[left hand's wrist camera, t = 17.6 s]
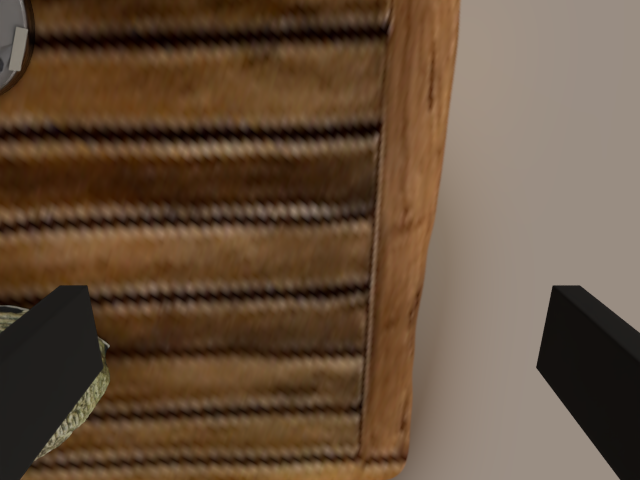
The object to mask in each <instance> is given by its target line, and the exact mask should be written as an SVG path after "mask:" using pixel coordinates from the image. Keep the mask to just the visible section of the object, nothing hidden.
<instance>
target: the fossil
mask: <svg viewBox="0 0 640 480" xmlns="http://www.w3.org/2000/svg"><path fill="white" fill-rule="evenodd" d="M27 311H29V310H28V309H25V308H20V307H16V306H9V305H6V306H1V305H0V333H1V332H2V331H3V330H5V329H6V328H7V327H8V326H10V325H11V324H12V323H14V322H15V321H16V320H17V319H19V318H20V317H21V316H22V315H24V314H25V313H26V312H27ZM98 341H99V346H100V351H101V356H102V361H103V366H104V368H103V369H102V371H101V372H100V373H99V375H98V376H97V377H96V379H95V380H94V381H93V383H92V384H91V385H90V387H89V388H88V389H87V391H86V392H85V393H84V395H83V396H82V397H81V399H80V400H79V401H78V403H77V404H76V405H75V407H74V408H73V409H72V411H71V412H70V413H69V415H68V416H67V417H66V419H65V420H64V421H63V423H62V424H61V425H60V427H59V428H58V429H57V431H56V432H55V433H54V435H53V436H52V437H51V439H50V440H49V441H48V443H47V444H46V445H45V447H44V448H43V449H42V451H41V452H40V453H39V455H38V456H37V457H36V459H35V460H37V459H38V458H39V457H42V456H44V455H45V454H47V453H48V452H50V451H51V450H53V449H54V448H56V447H58V446H59V445H60V444H62V443H63V442H64V441H65V440H66V439H67V438H68V437H70V435H71V434H72V432H73V430H75V429H76V428H78V427H79V426H80V425H81V424H82V423H83V422H85V420H86V418H87V417H88V416H89V414H90V413H91V412H92V411H93V409H94V408H95V406H96V405H97V403H98V401H99V400H100V399H101V397H102V396H103V394H104V392H105V391H106V389H107V386H108V384H109V382H110V373H109V370H108V367H107V364H106V359H105V355H106V351H107V349H108V348H109V346H110V345H109V344H108V343H106V342H105V341H104V340H102V339H101V338H99V337H98ZM35 460H34V461H35Z"/></svg>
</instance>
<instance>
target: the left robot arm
mask: <svg viewBox="0 0 640 480" xmlns="http://www.w3.org/2000/svg"><path fill="white" fill-rule="evenodd" d="M34 41H35V22H34V14H33V9H32V5H31V1H30V0H0V95H1V94H3V93H5V92H6V91H8V90H9V89H10V88H12V87H13V86H14V85H15V84H16V83H17V82H18V81H19V79H20V78H21V77H22V75H23V74H24V72H25V70H26V69H27V67H28V65H29V62H30V59H31V56H32V52H33V48H34ZM103 368H104V366H103V361H102V356H101V351H100V346H99V341H98V336H97V331H96V326H95V322H94V317H93V312H92V307H91V302H90V297H89V292H88V287H87V286H59V287H58V288H56V289H55V290H54V291H53V292H51V293H50V294H49V295H48V296H46V297H45V298H44V299H42V300H41V301H40V302H39V303H37V304H36V305H35V306H34V307H32V308H31V309H30V310H29V311H27V312H26V313H25V314H24V315H22V316H21V317H20V318H19V319H17V320H16V321H15V322H14V323H12V324H11V325H10V326H8V327H7V328H6V329H5V330H3V331H2V332H1V333H0V480H20V479H21V477H22V476H23V475H24V473H25V472H26V471H27V469H28V468H29V467H30V465H31V464H32V463H33V461H34V460H35V459H36V457H37V456H38V455H39V453H40V452H41V451H42V449H43V448H44V447H45V445H46V444H47V443H48V441H49V440H50V439H51V437H52V436H53V435H54V433H55V432H56V431H57V429H58V428H59V427H60V425H61V424H62V423H63V421H64V420H65V419H66V417H67V416H68V415H69V413H70V412H71V411H72V409H73V408H74V407H75V405H76V404H77V403H78V401H79V400H80V399H81V397H82V396H83V395H84V393H85V392H86V391H87V389H88V388H89V387H90V385H91V384H92V383H93V381H94V380H95V379H96V377H97V376H98V375H99V373H100V372H101V371H102V369H103ZM536 368H537V369H538V371H539V372H540V373H541V375H542V376H543V377H544V379H545V380H546V381H547V383H548V384H549V385H550V387H551V388H552V389H553V391H554V392H555V393H556V395H557V396H558V397H559V399H560V400H561V401H562V403H563V404H564V405H565V407H566V408H567V409H568V411H569V412H570V413H571V415H572V416H573V417H574V419H575V420H576V421H577V423H578V424H579V425H580V427H581V428H582V429H583V431H584V432H585V433H586V435H587V436H588V437H589V439H590V440H591V441H592V443H593V444H594V445H595V447H596V448H597V449H598V451H599V452H600V453H601V455H602V456H603V457H604V459H605V460H606V461H607V463H608V464H609V465H610V467H611V468H612V469H613V471H614V472H615V473H616V475H617V476H618V477H619V479H620V480H640V333H639V332H638V331H637V330H635V329H634V328H633V327H632V326H630V325H629V324H628V323H626V322H625V321H624V320H623V319H621V318H620V317H619V316H618V315H616V314H615V313H614V312H613V311H611V310H610V309H609V308H608V307H606V306H605V305H604V304H602V303H601V302H600V301H599V300H598V299H596V298H595V297H594V296H592V295H591V294H590V293H589V292H587V291H586V290H585V289H584V288H582V287H581V286H553V287H552V292H551V297H550V302H549V307H548V312H547V317H546V322H545V326H544V331H543V337H542V341H541V347H540V351H539V356H538V361H537V366H536Z"/></svg>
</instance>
